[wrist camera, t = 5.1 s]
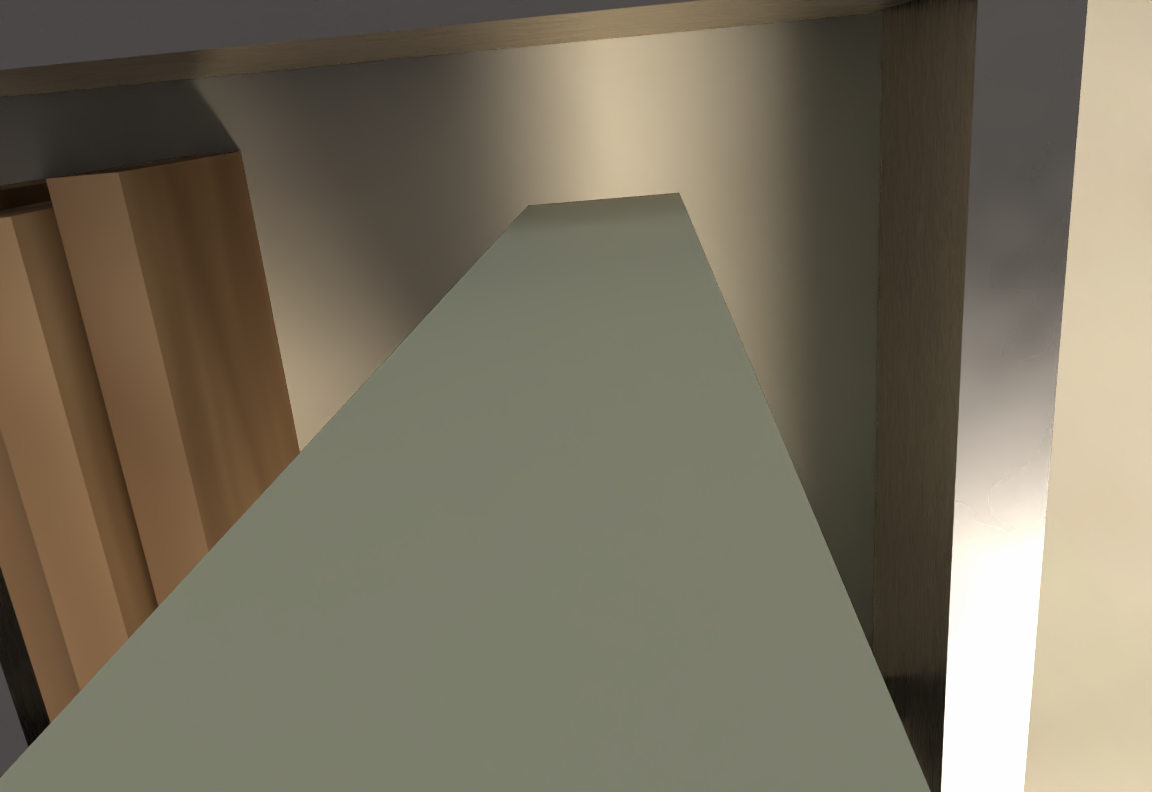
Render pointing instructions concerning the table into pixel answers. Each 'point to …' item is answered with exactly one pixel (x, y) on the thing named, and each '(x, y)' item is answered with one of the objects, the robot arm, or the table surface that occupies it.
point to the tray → (906, 290)
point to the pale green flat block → (515, 567)
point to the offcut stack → (128, 397)
